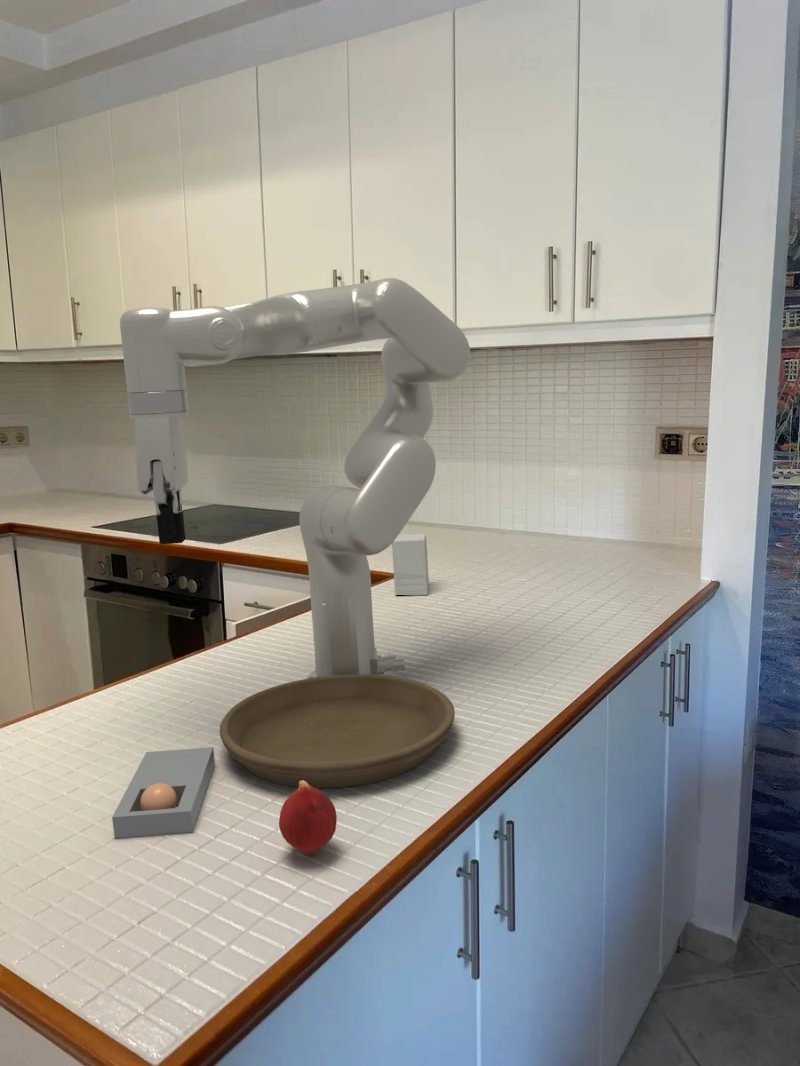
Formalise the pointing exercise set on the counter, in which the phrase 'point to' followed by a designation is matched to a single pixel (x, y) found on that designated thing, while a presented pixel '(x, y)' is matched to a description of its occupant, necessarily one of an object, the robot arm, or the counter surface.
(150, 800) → the ball
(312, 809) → the onion
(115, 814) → the block
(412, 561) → the supplement box
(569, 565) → the counter surface
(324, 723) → the plant saucer
